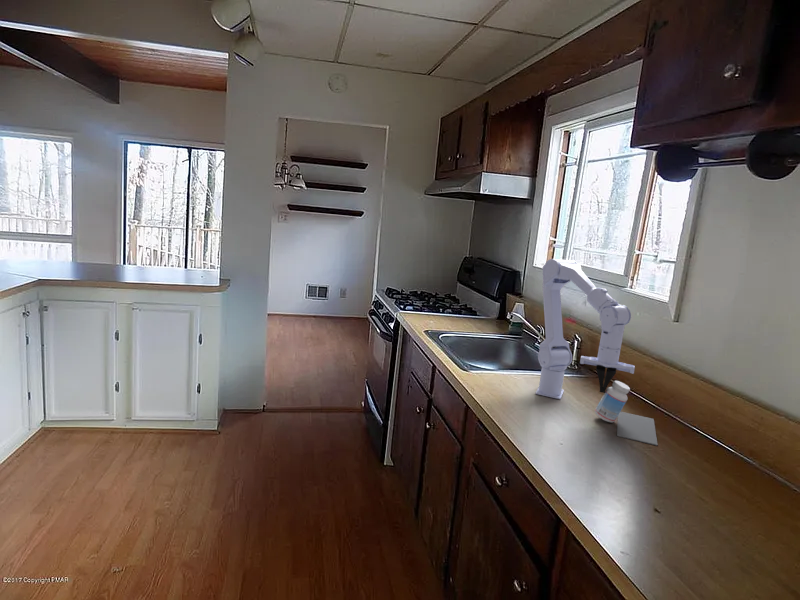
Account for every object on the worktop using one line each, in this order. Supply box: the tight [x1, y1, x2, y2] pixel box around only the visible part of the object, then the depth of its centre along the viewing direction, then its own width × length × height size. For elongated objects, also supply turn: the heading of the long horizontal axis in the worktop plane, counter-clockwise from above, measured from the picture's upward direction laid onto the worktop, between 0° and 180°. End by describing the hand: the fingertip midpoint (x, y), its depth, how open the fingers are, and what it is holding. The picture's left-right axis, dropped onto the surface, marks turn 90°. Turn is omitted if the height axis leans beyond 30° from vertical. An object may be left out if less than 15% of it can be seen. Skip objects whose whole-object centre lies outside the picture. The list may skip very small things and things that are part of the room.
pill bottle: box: [594, 380, 631, 423], centre depth 148 cm, size 6×6×11 cm
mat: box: [616, 410, 659, 447], centre depth 147 cm, size 20×10×1 cm, turn 157°
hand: (602, 391), depth 149 cm, fingers closed
